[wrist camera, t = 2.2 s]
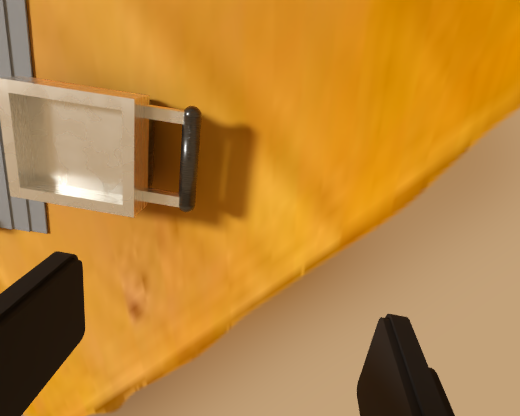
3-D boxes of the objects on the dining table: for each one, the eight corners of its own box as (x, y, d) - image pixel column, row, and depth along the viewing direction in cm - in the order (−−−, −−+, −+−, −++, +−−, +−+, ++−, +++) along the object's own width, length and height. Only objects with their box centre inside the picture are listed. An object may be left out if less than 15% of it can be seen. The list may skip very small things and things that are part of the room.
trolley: (212, 99, 27) (193, 108, 23) (203, 200, 30) (186, 226, 26) (45, 74, 28) (-6, 77, 23) (54, 175, 31) (10, 196, 26)
